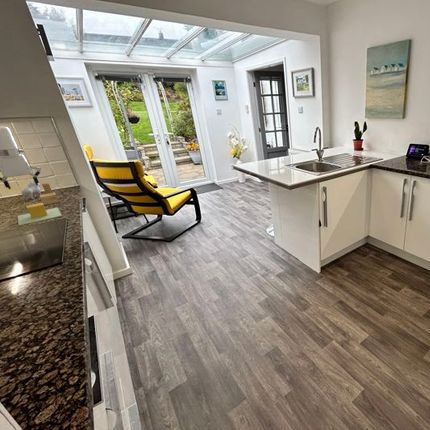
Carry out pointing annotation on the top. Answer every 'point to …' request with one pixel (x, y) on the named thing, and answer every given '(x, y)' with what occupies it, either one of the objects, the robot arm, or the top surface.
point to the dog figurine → (31, 190)
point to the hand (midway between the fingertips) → (23, 186)
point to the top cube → (37, 210)
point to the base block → (49, 198)
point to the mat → (28, 219)
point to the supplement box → (47, 188)
